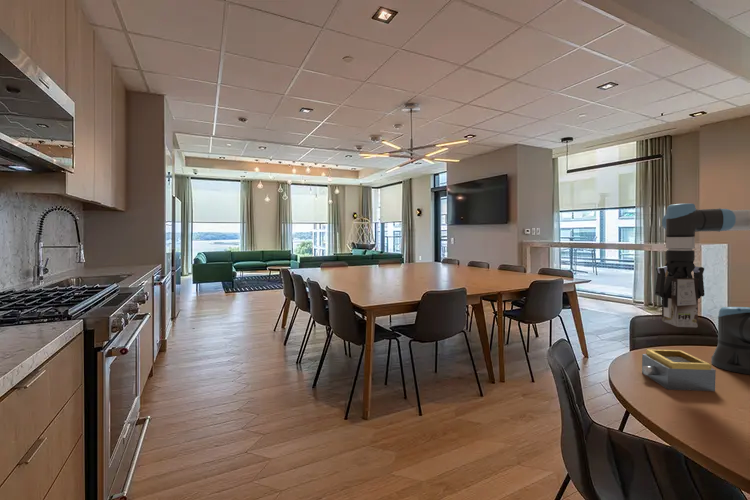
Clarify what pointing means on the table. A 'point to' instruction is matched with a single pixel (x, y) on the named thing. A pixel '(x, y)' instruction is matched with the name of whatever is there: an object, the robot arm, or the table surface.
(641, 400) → the table surface
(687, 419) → the table surface
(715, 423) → the table surface
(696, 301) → the coffee box
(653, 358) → the grey yellow box
